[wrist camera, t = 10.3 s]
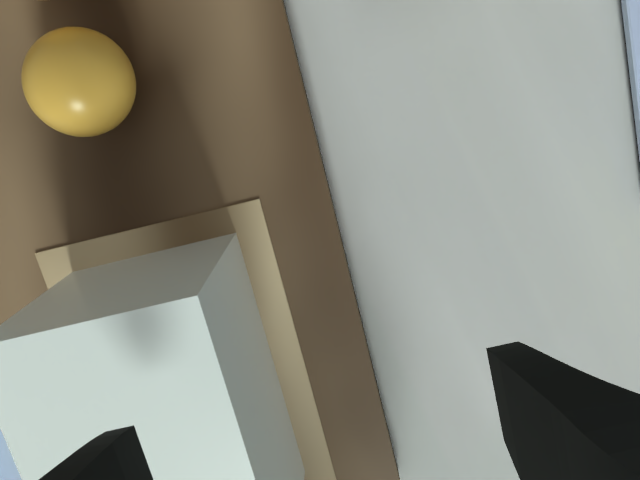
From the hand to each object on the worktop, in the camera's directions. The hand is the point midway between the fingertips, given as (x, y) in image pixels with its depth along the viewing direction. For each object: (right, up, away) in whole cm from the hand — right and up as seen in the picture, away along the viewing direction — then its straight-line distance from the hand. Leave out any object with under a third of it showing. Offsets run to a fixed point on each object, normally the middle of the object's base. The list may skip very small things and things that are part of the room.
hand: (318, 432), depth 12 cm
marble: (-7, +8, +5) cm, 12 cm away
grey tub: (-4, -1, +9) cm, 10 cm away
